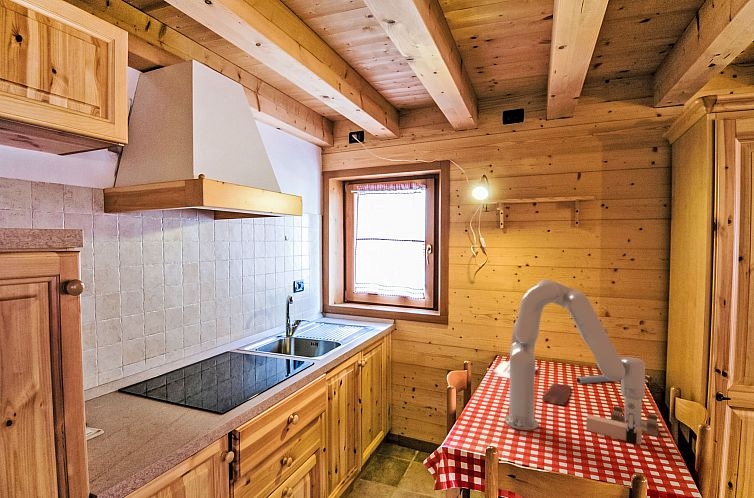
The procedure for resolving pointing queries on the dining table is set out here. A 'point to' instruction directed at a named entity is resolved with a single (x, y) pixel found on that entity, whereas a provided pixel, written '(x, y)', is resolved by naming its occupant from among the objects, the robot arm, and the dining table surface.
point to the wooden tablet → (557, 394)
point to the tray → (505, 369)
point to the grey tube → (592, 379)
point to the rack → (647, 426)
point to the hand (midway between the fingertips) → (631, 438)
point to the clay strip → (610, 428)
